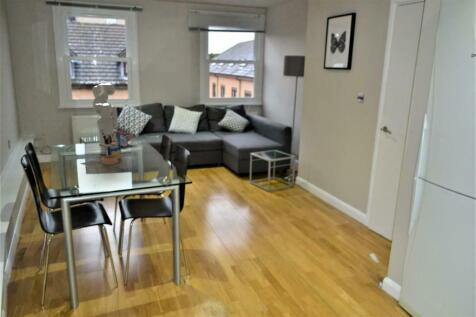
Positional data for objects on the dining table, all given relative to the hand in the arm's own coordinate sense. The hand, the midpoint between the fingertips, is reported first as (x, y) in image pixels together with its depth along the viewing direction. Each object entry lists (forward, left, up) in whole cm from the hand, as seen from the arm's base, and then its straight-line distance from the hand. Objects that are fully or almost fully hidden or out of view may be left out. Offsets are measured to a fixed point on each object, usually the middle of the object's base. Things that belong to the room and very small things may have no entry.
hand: (108, 143), depth 297 cm
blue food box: (-14, -10, -17) cm, 24 cm away
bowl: (0, 0, -16) cm, 16 cm away
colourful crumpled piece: (-55, -44, -17) cm, 73 cm away
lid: (0, 0, -1) cm, 1 cm away
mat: (+8, -12, -16) cm, 22 cm away
